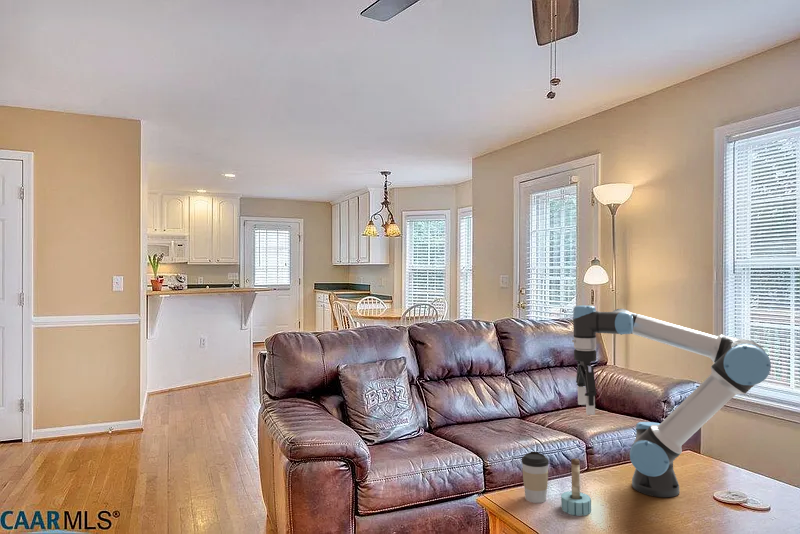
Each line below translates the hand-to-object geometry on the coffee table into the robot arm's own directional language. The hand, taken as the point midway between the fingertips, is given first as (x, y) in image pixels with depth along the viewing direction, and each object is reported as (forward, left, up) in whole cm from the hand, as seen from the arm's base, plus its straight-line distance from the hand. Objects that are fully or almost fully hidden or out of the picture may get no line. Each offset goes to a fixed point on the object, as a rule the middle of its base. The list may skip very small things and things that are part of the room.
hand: (586, 409), depth 185 cm
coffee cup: (+19, +8, -29) cm, 35 cm away
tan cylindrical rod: (+7, +15, -29) cm, 33 cm away
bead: (+7, +15, -29) cm, 33 cm away
